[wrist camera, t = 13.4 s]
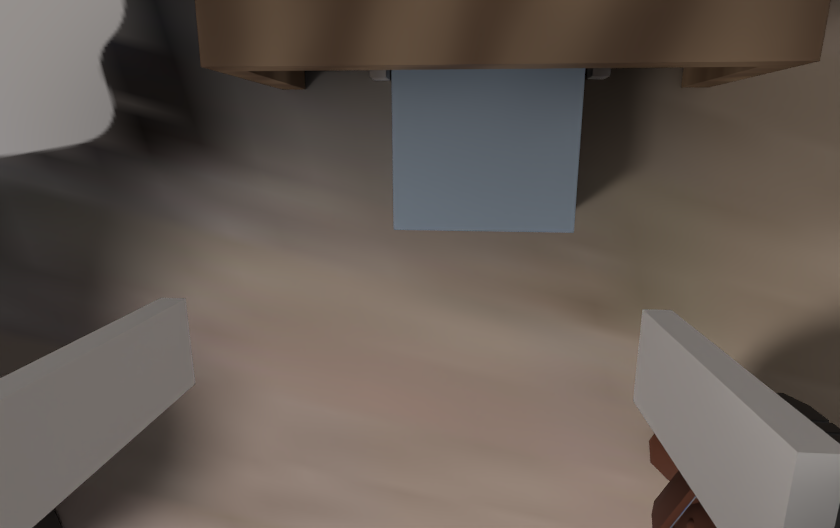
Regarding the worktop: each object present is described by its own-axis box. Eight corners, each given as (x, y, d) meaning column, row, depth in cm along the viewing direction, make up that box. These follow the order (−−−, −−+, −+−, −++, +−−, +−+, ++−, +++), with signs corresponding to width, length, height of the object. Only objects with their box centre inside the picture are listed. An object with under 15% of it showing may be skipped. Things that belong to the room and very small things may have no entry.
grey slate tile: (405, 216, 33) (393, 229, 29) (402, -91, 29) (388, -137, 24) (559, 219, 32) (573, 232, 28) (579, -100, 28) (600, -150, 23)
